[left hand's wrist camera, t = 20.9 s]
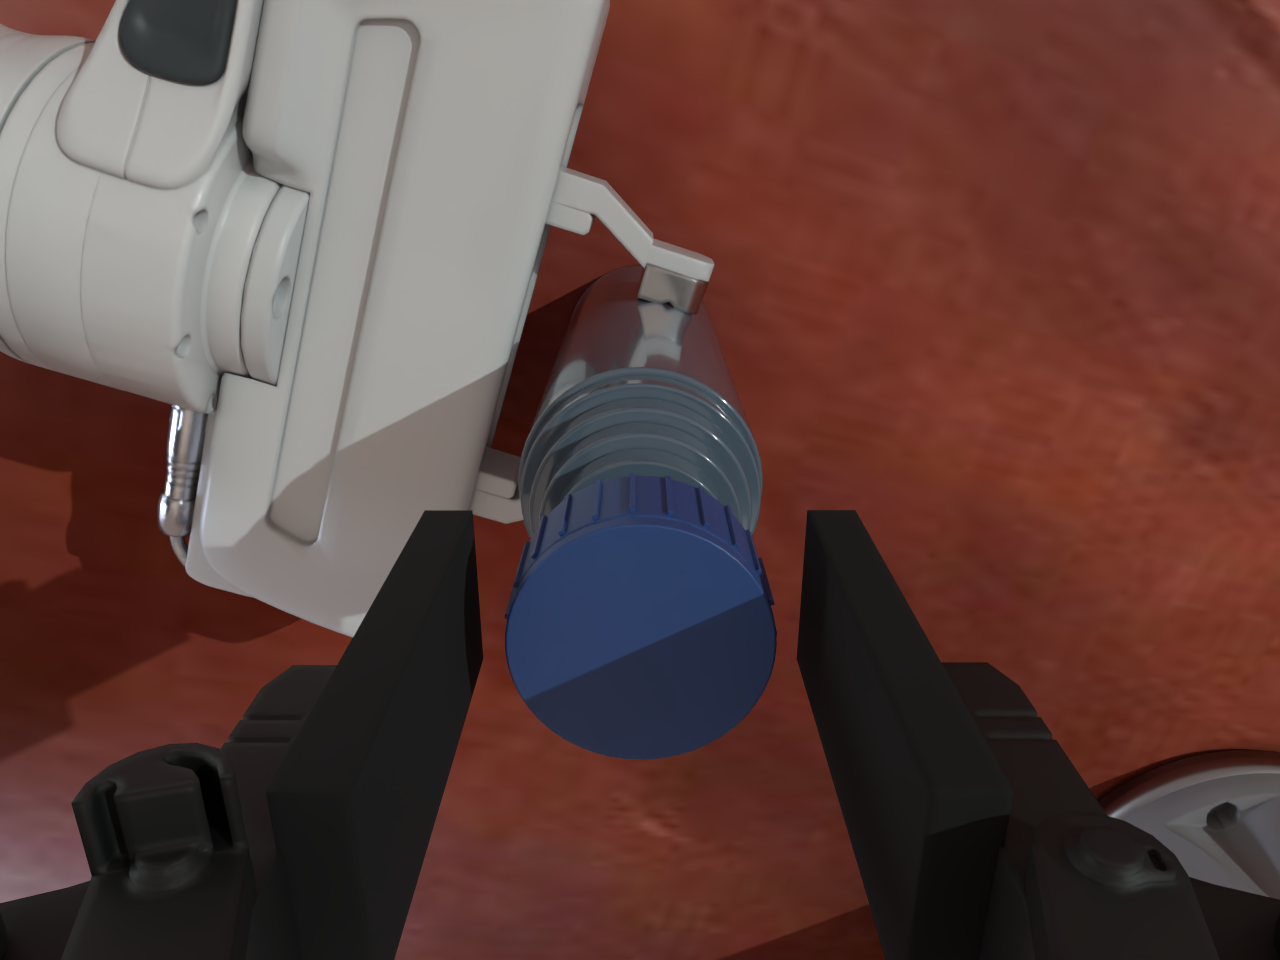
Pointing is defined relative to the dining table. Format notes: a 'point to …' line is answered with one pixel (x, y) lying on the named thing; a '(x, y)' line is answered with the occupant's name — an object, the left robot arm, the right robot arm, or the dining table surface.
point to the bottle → (639, 406)
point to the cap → (640, 619)
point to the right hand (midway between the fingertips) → (670, 390)
